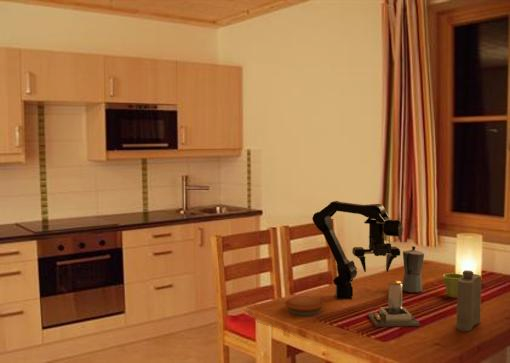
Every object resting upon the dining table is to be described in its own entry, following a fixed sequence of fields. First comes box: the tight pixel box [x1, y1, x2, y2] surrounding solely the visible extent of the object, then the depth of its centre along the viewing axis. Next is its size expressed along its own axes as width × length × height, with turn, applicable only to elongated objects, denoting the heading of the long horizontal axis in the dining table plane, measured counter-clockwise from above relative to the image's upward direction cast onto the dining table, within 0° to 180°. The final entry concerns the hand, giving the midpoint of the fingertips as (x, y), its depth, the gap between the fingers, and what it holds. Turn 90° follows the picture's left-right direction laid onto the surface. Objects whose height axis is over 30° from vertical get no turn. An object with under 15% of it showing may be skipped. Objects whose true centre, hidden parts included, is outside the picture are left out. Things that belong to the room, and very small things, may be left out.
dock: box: [368, 306, 421, 328], centre depth 204 cm, size 16×12×4 cm
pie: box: [284, 295, 325, 317], centre depth 216 cm, size 16×16×5 cm
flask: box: [456, 270, 482, 333], centre depth 198 cm, size 15×6×20 cm, turn 141°
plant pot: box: [442, 273, 463, 298], centre depth 235 cm, size 9×9×9 cm
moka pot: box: [402, 245, 425, 293], centre depth 242 cm, size 10×15×20 cm, turn 152°
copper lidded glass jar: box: [387, 279, 403, 314], centre depth 204 cm, size 5×5×14 cm
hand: (375, 271), depth 226 cm, fingers open, 9 cm apart
